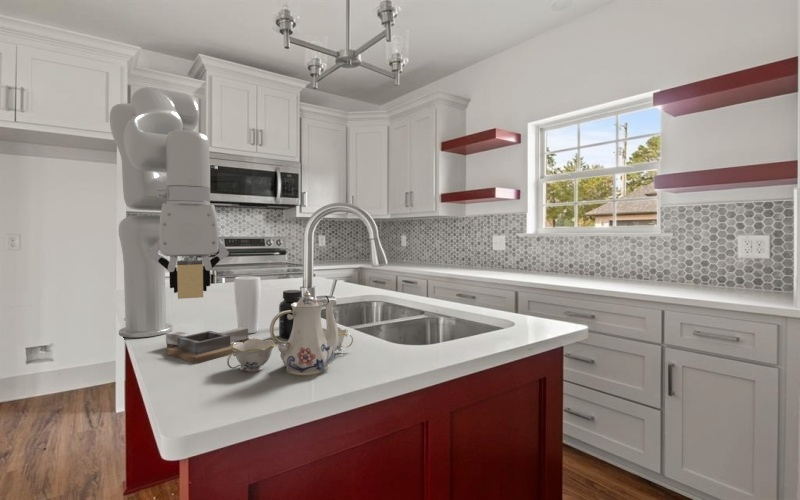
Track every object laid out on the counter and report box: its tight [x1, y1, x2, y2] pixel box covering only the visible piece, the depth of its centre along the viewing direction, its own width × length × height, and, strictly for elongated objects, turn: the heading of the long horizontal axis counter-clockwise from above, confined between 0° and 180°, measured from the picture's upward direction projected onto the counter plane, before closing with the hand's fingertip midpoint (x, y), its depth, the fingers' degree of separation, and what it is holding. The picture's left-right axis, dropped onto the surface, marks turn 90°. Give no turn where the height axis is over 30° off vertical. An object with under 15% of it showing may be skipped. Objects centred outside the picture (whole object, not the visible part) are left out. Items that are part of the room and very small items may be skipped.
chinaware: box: [226, 290, 354, 376], centre depth 92 cm, size 28×17×17 cm, turn 135°
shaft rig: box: [165, 327, 250, 364], centre depth 104 cm, size 17×16×4 cm
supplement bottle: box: [278, 289, 303, 340], centre depth 115 cm, size 7×7×12 cm
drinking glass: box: [233, 275, 262, 335], centre depth 119 cm, size 7×7×15 cm
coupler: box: [176, 259, 204, 300], centre depth 85 cm, size 4×4×7 cm
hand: (190, 289), depth 85 cm, fingers closed on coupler, 4 cm apart
